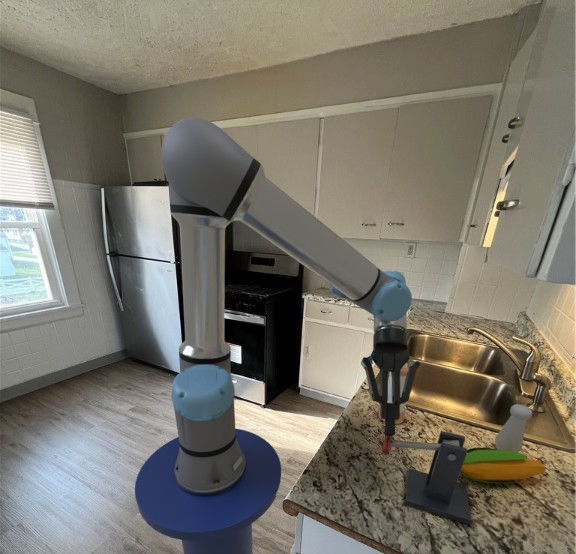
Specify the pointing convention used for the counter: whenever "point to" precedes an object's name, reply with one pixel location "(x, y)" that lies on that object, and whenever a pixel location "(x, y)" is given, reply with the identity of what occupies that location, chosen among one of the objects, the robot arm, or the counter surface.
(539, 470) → the corn
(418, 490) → the bracket
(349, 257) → the robot arm
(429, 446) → the lever
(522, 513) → the counter surface
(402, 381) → the pepper shaker
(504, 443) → the salt shaker
